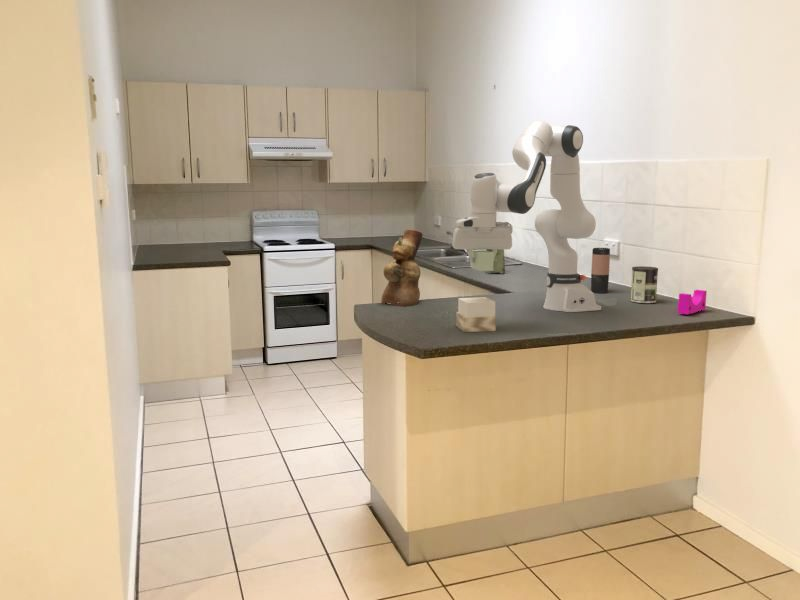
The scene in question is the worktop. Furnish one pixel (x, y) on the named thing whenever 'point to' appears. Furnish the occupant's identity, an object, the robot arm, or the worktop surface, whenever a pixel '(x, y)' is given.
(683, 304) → the toy block
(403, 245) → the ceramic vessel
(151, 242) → the worktop surface
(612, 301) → the worktop surface
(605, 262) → the travel mug
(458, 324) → the tower base
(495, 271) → the pouch
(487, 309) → the tower top
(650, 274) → the coffee can
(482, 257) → the green bar
